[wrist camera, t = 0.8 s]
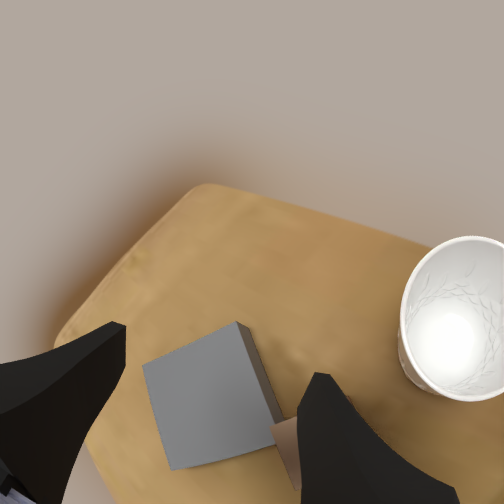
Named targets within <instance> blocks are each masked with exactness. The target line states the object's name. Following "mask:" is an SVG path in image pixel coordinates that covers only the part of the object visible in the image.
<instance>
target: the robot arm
mask: <svg viewBox="0 0 504 504" xmlns="http://www.w3.org/2000/svg"><path fill="white" fill-rule="evenodd" d="M125 366H126V326H125V325H122V324H119V323H116V322H113V321H111V322H109V323H107V324H105V325H103V326H101V327H99V328H97V329H95V330H94V331H92V332H90V333H88V334H86V335H84V336H82V337H80V338H78V339H76V340H74V341H72V342H69V343H67V344H65V345H62V346H60V347H58V348H55V349H53V350H51V351H48V352H45V353H43V354H40V355H36V356H33V357H30V358H27V359H22V360H18V361H14V362H8V363H3V364H0V504H61V503H62V500H63V496H64V493H65V489H66V486H67V483H68V480H69V477H70V474H71V471H72V468H73V466H74V463H75V461H76V458H77V455H78V453H79V451H80V448H81V446H82V444H83V442H84V439H85V437H86V435H87V433H88V431H89V429H90V427H91V426H92V424H93V422H94V421H95V419H96V418H97V416H98V415H99V413H100V411H101V410H102V408H103V407H104V405H105V403H106V402H107V400H108V399H109V397H110V396H111V394H112V392H113V391H114V389H115V388H116V386H117V384H118V382H119V379H120V377H121V375H122V373H123V371H124V368H125ZM297 440H298V450H299V460H300V469H301V483H302V491H301V504H460V502H459V499H458V497H457V494H456V492H455V489H454V488H453V487H451V486H449V485H447V484H445V483H443V482H441V481H438V480H436V479H434V478H432V477H431V476H429V475H427V474H426V473H424V472H422V471H421V470H419V469H417V468H416V467H414V466H413V465H412V464H410V463H409V462H407V461H406V460H405V459H404V458H402V457H401V456H400V455H398V454H397V453H396V452H395V451H394V450H392V449H391V448H390V447H389V446H388V445H387V444H386V443H385V442H384V441H383V440H382V439H381V438H380V437H379V436H378V435H377V434H376V433H375V432H374V431H373V430H372V429H371V428H370V427H369V425H368V424H367V423H366V422H365V421H364V420H363V418H362V417H361V416H360V415H359V413H358V412H357V411H356V410H355V408H354V407H353V406H352V404H351V403H350V402H349V400H348V399H347V397H346V396H345V395H344V393H343V392H342V390H341V389H340V388H339V386H338V385H337V383H336V382H335V381H334V379H333V378H332V377H331V375H330V374H324V373H317V372H315V373H314V375H313V377H312V379H311V381H310V383H309V386H308V388H307V390H306V392H305V394H304V396H303V398H302V400H301V402H300V404H299V406H298V408H297Z"/></svg>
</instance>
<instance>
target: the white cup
mask: <svg viewBox="0 0 504 504" xmlns="http://www.w3.org/2000/svg"><path fill="white" fill-rule="evenodd" d="M398 352H399V361H400V363H401V365H402V368H403V370H404V373H405V375H406V377H407V378H408V379H410V380H411V381H412V382H413V383H414V384H415V385H417V386H418V387H419V388H421V389H423V390H425V391H427V392H430V393H432V394H435V395H439V396H443V397H447V398H451V399H455V400H459V401H481V400H486V399H489V398H492V397H495V396H497V395H499V394H501V393H503V392H504V244H502V243H500V242H498V241H496V240H493V239H490V238H486V237H481V236H463V237H458V238H454V239H451V240H448V241H446V242H444V243H442V244H440V245H439V246H437V247H435V248H434V249H433V250H431V251H430V252H429V253H428V254H427V255H426V256H425V257H424V258H423V259H422V260H421V261H420V262H419V263H418V265H417V266H416V268H415V269H414V271H413V272H412V274H411V276H410V278H409V280H408V282H407V285H406V287H405V290H404V294H403V298H402V303H401V311H400V321H399V329H398Z"/></svg>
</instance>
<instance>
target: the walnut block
mask: <svg viewBox="0 0 504 504" xmlns="http://www.w3.org/2000/svg"><path fill="white" fill-rule="evenodd" d="M346 397H347V399H348V400H349V402H350V403H351V404H352V401H351V399H350V397H349V396H346ZM352 406H353V404H352ZM353 407H354V406H353ZM269 428H270V431H271V433H272V436H273V438H274V441H275V443H276V446H277V448H278V451H279V453H280V456H281V458H282V460H283V463H284V465H285V468H286V470H287V472H288V475H289V477H290V479H291V482H292V484H293V486H294V489H295V491H296V490H299V489H302V483H301V469H300V460H299V450H298V440H297V416H295V417H293V418H290V419H288V420H285V421H283V422H280V423H278V424H275V425H272V426H269Z"/></svg>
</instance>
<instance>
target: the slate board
mask: <svg viewBox="0 0 504 504" xmlns="http://www.w3.org/2000/svg"><path fill="white" fill-rule="evenodd" d="M142 367H143V372H144V376H145V381H146V385H147V389H148V393H149V397H150V401H151V405H152V409H153V413H154V416H155V420H156V424H157V427H158V431H159V434H160V437H161V441H162V444H163V447H164V450H165V454H166V457H167V460H168V463H169V466H170V469H171V471H173V470H178V469H183V468H188V467H193V466H198V465H202V464H207V463H211V462H215V461H219V460H223V459H227V458H231V457H234V456H238V455H242V454H245V453H248V452H252V451H255V450H258V449H261V448H264V447H268V446H271V445H274V444H276V443H275V441H274V438H273V436H272V433H271V431H270V428H269V426H272V425H275V424H278V423H280V422H283V421H285V420H284V417H283V415H282V413H281V410H280V408H279V405H278V403H277V400H276V398H275V395H274V393H273V390H272V388H271V385H270V383H269V380H268V377H267V375H266V372H265V370H264V367H263V365H262V362H261V360H260V357H259V354H258V352H257V349H256V347H255V344H254V341H253V339H252V336H251V333H250V331H249V328H247V327H246V326H244V325H242V324H240V323H238V322H237V321H235V322H233V323H231V324H229V325H227V326H225V327H223V328H221V329H219V330H217V331H215V332H213V333H211V334H209V335H206V336H204V337H202V338H200V339H198V340H196V341H194V342H192V343H190V344H188V345H185V346H183V347H181V348H179V349H177V350H175V351H173V352H170V353H168V354H166V355H164V356H162V357H159V358H157V359H155V360H153V361H151V362H148V363H146V364H144V365H142Z"/></svg>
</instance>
